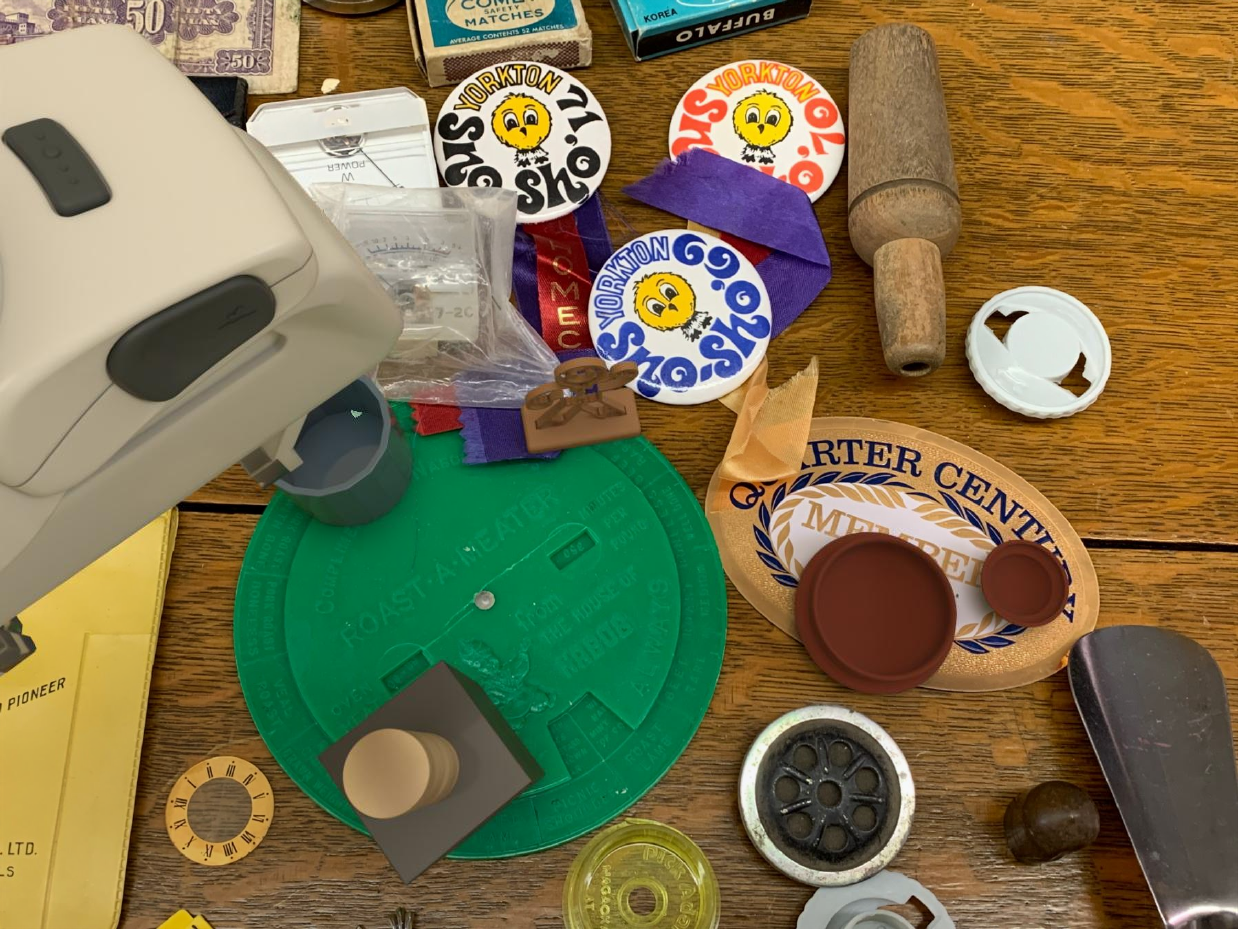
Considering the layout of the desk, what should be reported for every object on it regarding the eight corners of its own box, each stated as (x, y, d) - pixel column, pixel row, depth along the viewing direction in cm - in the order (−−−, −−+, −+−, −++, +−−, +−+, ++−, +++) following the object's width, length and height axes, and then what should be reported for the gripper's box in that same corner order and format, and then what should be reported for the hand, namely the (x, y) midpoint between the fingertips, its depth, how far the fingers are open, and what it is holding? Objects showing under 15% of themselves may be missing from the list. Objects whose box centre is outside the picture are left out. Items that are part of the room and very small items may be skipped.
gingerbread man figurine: (528, 455, 73) (517, 399, 62) (520, 408, 74) (508, 345, 63) (641, 436, 74) (652, 377, 63) (632, 390, 75) (640, 324, 64)
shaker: (416, 821, 49) (374, 838, 39) (375, 763, 49) (325, 766, 40) (473, 774, 49) (446, 780, 40) (432, 718, 50) (396, 710, 41)
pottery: (773, 551, 72) (784, 539, 68) (1024, 508, 73) (1051, 493, 69) (809, 709, 69) (824, 707, 64) (1071, 660, 70) (1102, 654, 66)
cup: (333, 551, 71) (298, 523, 62) (263, 456, 73) (220, 416, 64) (437, 476, 73) (417, 439, 64) (366, 385, 74) (338, 337, 66)
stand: (452, 851, 65) (405, 887, 48) (385, 755, 67) (316, 756, 49) (546, 774, 67) (532, 781, 49) (477, 682, 68) (442, 658, 51)
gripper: (-812, 970, 14) (-123, 863, 27) (379, 196, 18) (465, 433, 31) (-945, 623, 15) (-225, 684, 28) (196, -21, 19) (354, 295, 32)
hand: (143, 549), depth 30 cm, fingers open, 8 cm apart
